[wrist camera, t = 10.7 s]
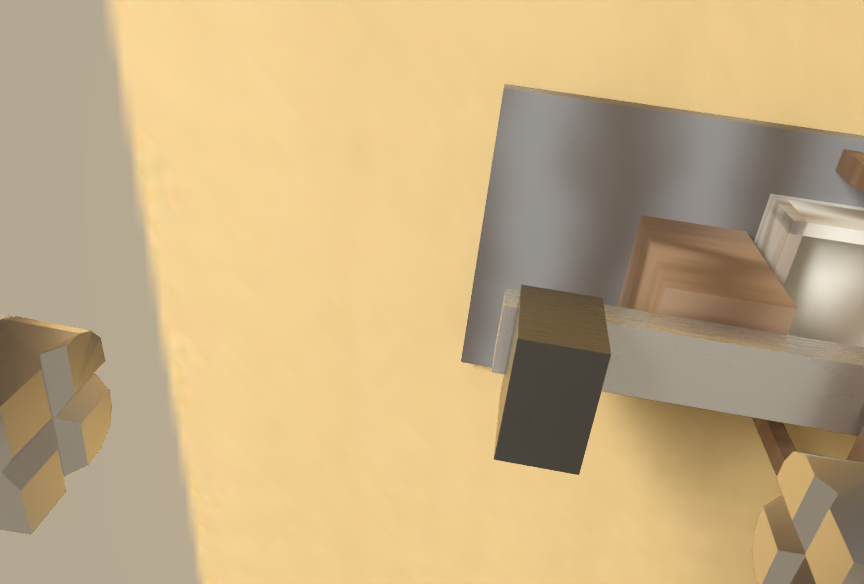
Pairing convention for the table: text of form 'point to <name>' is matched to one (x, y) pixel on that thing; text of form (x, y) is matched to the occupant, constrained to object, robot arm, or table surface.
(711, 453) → the table surface
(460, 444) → the table surface
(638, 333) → the steel shaft
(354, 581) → the table surface
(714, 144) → the shaft stand
